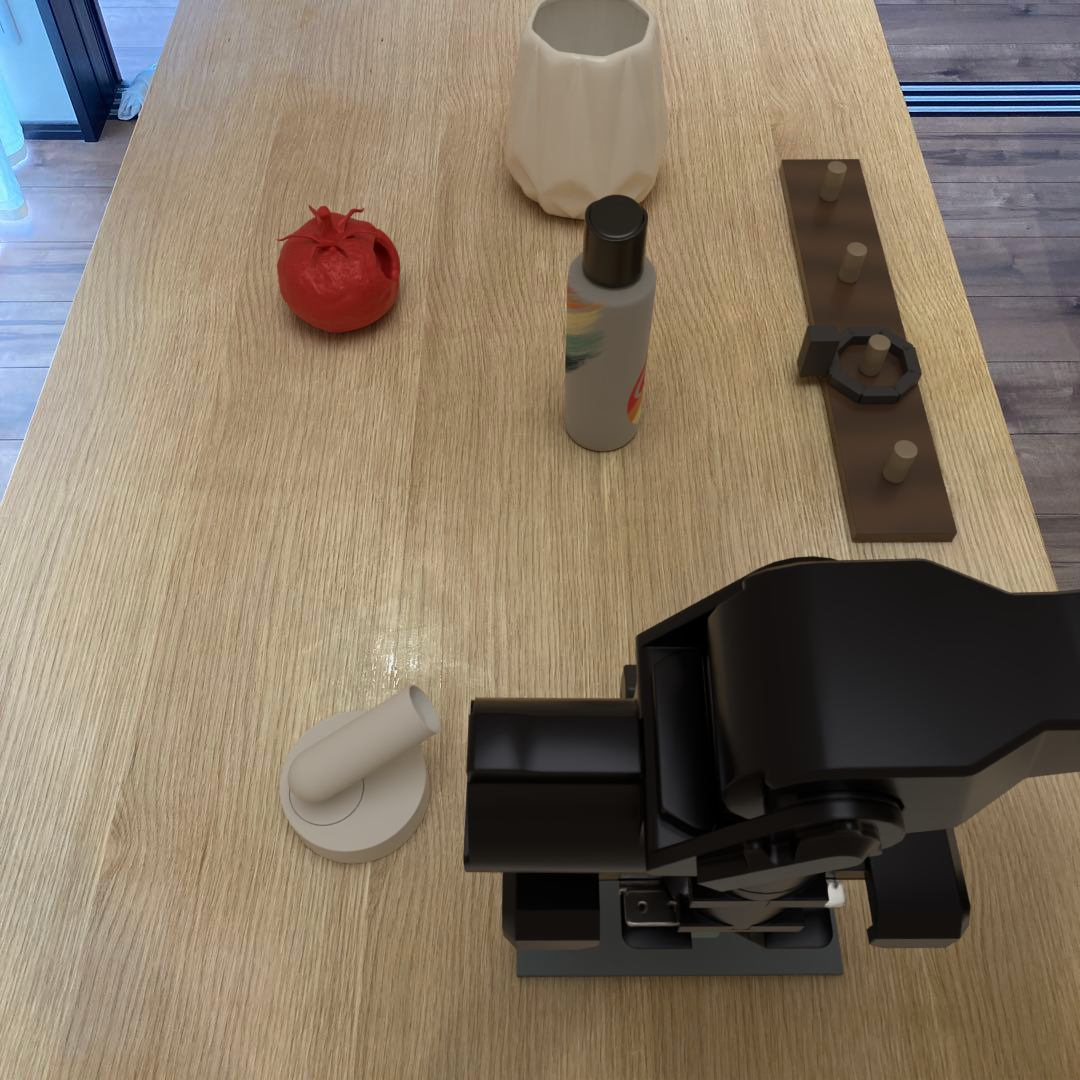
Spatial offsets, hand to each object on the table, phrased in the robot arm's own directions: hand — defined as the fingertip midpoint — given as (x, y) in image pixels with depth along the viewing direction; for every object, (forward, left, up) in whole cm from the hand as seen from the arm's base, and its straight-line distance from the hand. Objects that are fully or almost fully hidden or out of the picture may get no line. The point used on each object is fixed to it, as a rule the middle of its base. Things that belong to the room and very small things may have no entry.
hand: (701, 912), depth 50 cm
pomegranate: (+43, -36, -9) cm, 56 cm away
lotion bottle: (+19, -33, -9) cm, 39 cm away
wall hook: (+21, -1, -9) cm, 23 cm away
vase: (+31, -58, -9) cm, 66 cm away
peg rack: (+4, -50, -9) cm, 51 cm away
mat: (+2, -3, -9) cm, 10 cm away
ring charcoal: (+1, -45, -8) cm, 46 cm away
